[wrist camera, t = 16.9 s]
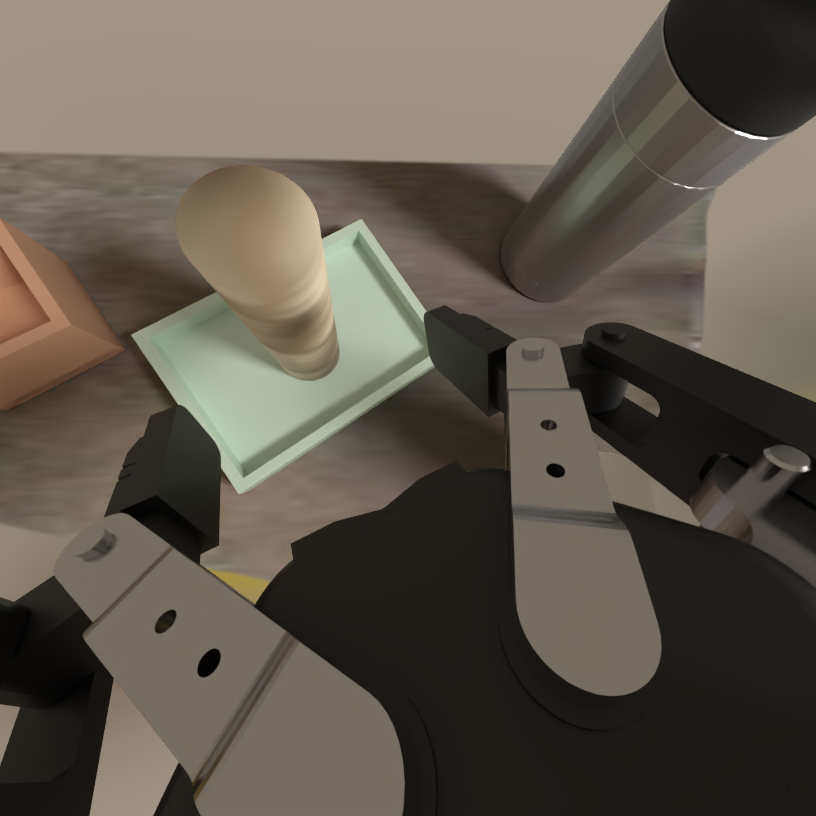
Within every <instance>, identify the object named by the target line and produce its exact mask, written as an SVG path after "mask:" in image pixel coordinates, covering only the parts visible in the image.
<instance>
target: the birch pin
mask: <svg viewBox="0 0 816 816" xmlns="http://www.w3.org/2000/svg"><path fill="white" fill-rule="evenodd" d="M175 225H176V234H177V238H178V241H179V244H180V246H181V248H182V250H183V252H184V254H185V255H186V257H187V258H188V259H189V261H190V262H191V263H192V264H193V265H194V267H195V268H196V269H197V270H198V271H199V272H200V273H201V275H202V276H203V277H204V278H205V279H206V280H207V282H208V283H209V284H210V285H211V286H212V287H213V288H214V290H215V291H216V292H217V293H218V294H219V295H220V297H221V298H222V299H223V300H224V301H225V302H226V303H227V305H228V306H229V307H230V308H231V309H232V310H233V311H234V313H235V314H236V315H237V316H238V317H239V318H240V320H241V321H242V322H243V323H244V324H245V325H246V326H247V328H248V329H249V330H250V331H251V332H252V333H253V334H254V336H255V337H256V338H257V339H258V340H259V341H260V343H261V344H262V345H263V346H264V347H265V348H266V349H267V351H268V352H269V353H270V354H271V355H272V356H273V358H274V359H275V360H276V361H277V362H278V363H279V364H280V366H281V367H282V368H283V369H284V370H285V371H286V372H287V373H288V374H289V375H291V376H292V377H294V378H296V379H299V380H303V381H315V380H319V379H321V378H324V377H325V376H327V375H328V374H330V373H331V372H332V371H333V369H334V368H335V367H336V365H337V363H338V360H339V354H340V351H339V344H338V337H337V331H336V325H335V319H334V313H333V306H332V300H331V294H330V288H329V282H328V275H327V269H326V263H325V257H324V250H323V244H322V238H321V232H320V226H319V220H318V216H317V213H316V210H315V208H314V205H313V204H312V202H311V200H310V199H309V197H308V196H307V195H306V193H305V192H304V191H303V190H302V189H301V188H300V187H299V186H298V185H297V184H295V183H294V182H293V181H292V180H290V179H289V178H287V177H285V176H284V175H282V174H279V173H277V172H275V171H272V170H269V169H266V168H262V167H258V166H250V165H238V166H229V167H225V168H221V169H218V170H215V171H212V172H210V173H208V174H206V175H204V176H203V177H201V178H200V179H198V180H197V181H196V182H195V183H194V184H192V185H191V186H190V188H189V189H188V190H187V191H186V192H185V194H184V196H183V197H182V199H181V201H180V203H179V206H178V209H177V213H176V221H175Z"/></svg>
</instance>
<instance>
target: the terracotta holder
mask: <svg viewBox="0 0 816 816" xmlns="http://www.w3.org/2000/svg"><path fill="white" fill-rule="evenodd" d="M125 350H126V349H125V347H124V346H123V345H122V343H121V342H120V340H119V339H118V337H117V336H116V334H115V333H114V331H113V330H112V328H111V327H110V325H109V324H108V322H107V321H106V319H105V318H104V316H103V315H102V314H101V312H100V311H99V309H98V308H97V306H96V305H95V303H94V302H93V300H92V299H91V297H90V296H89V294H88V293H87V291H86V290H85V288H84V287H83V285H82V284H81V283H80V281H79V280H78V278H77V277H76V275H75V274H74V272H73V271H72V269H71V268H70V266H69V265H68V263H67V262H66V261H65V260H63V259H62V258H60V257H59V256H57V255H56V254H54V253H53V252H51V251H50V250H48V249H47V248H45V247H44V246H42V245H41V244H39V243H38V242H36V241H35V240H33V239H32V238H30V237H29V236H27V235H26V234H24V233H23V232H21V231H20V230H18V229H17V228H15V227H14V226H12V225H11V224H9V223H8V222H6V221H5V220H3V219H2V218H0V409H1V410H10V409H12V408H14V407H16V406H18V405H20V404H22V403H24V402H26V401H28V400H30V399H32V398H34V397H35V396H37V395H39V394H41V393H43V392H45V391H47V390H49V389H51V388H53V387H55V386H57V385H59V384H61V383H63V382H65V381H67V380H69V379H71V378H73V377H75V376H77V375H78V374H80V373H82V372H84V371H86V370H88V369H90V368H92V367H94V366H96V365H98V364H100V363H102V362H104V361H106V360H108V359H110V358H112V357H114V356H116V355H118V354H120V353H121V352H123V351H125Z"/></svg>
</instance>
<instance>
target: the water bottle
mask: <svg viewBox="0 0 816 816" xmlns="http://www.w3.org/2000/svg"><path fill="white" fill-rule="evenodd" d="M598 454H599V458H600V461H601V465H602V468H603V472H604V475H605V479H606V482H607V486H608V489H609V493H610V496H611V500H612V501H614V502H618V503H621V504H625V505H628V506H631V507H635V508H638V509H642V510H645V511H648V512H652V513H655V514H658V515H662V516H665V517H669V518H672V519H675V520H679V521H682V522H686V523H689V524H692V525H696V526H699V525H700V523H699V522H698V520H697V519H696V518H695V516H694V515H693V513H692V511H691V508H690V506H688V505H687V504H686V503H684V502H683V501H682V500H681V499H679V498H678V497H677V496H675V495H674V494H673V493H672V492H670V491H669V490H668V489H666V488H665V487H664V486H663V485H661V484H660V483H659V482H657V481H656V480H655V479H654V478H652V477H651V476H650V475H648V474H647V473H646V472H645V471H643V470H642V469H641V468H639V467H638V466H637V465H636V464H634V463H633V462H632V461H630V460H629V459H628V458H627V457H625V456H621V455H617V454H614V453H609V452H598Z"/></svg>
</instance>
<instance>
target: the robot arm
mask: <svg viewBox="0 0 816 816" xmlns="http://www.w3.org/2000/svg"><path fill="white" fill-rule="evenodd" d="M814 116H816V0H670V1H669V3H668V4H667V5H666V6H665V8H664V9H663V11H662V12H661V14H660V15H659V16H658V18H657V19H656V21H655V22H654V24H653V25H652V26H651V28H650V29H649V31H648V32H647V34H646V35H645V36H644V38H643V39H642V41H641V42H640V44H639V45H638V46H637V48H636V49H635V51H634V52H633V54H632V55H631V57H630V58H629V59H628V61H627V62H626V64H625V65H624V67H623V68H622V69H621V71H620V72H619V74H618V75H617V77H616V78H615V80H614V81H613V83H612V84H611V85H610V87H609V88H608V90H607V91H606V93H605V94H604V95H603V97H602V99H601V100H600V101H599V103H598V104H597V105H596V107H595V108H594V110H593V111H592V113H591V114H590V115H589V117H588V118H587V120H586V121H585V123H584V124H583V125H582V127H581V128H580V130H579V131H578V133H577V134H576V135H575V137H574V138H573V140H572V141H571V143H570V144H569V145H568V147H567V148H566V150H565V151H564V153H563V154H562V155H561V157H560V158H559V160H558V161H557V163H556V164H555V165H554V167H553V168H552V170H551V171H550V172H549V174H548V175H547V177H546V178H545V180H544V181H543V182H542V184H541V185H540V187H539V188H538V190H537V191H536V192H535V194H534V195H533V197H532V198H531V200H530V201H529V202H528V204H527V205H526V207H525V208H524V209H523V211H522V212H521V214H520V215H519V217H518V218H517V219H516V221H515V222H514V224H513V225H512V227H511V228H510V229H509V231H508V232H507V234H506V236H505V237H504V239H503V242H502V245H501V262H502V266H503V269H504V272H505V274H506V276H507V277H508V279H509V281H510V282H511V283H512V284H513V285H514V287H515V288H516V289H517V290H519V291H520V292H521V293H522V294H524V295H526V296H527V297H529V298H531V299H534V300H537V301H541V302H555V301H559V300H562V299H564V298H566V297H567V296H569V295H570V294H572V293H573V292H574V291H576V290H577V289H579V288H580V287H581V286H583V285H584V284H585V283H587V282H588V281H590V280H591V279H592V278H594V277H595V276H597V275H598V274H600V273H601V272H602V271H604V270H605V269H606V268H608V267H609V266H611V265H612V264H613V263H615V262H616V261H617V260H619V259H620V258H622V257H623V256H624V255H626V254H627V253H628V252H630V251H631V250H632V249H634V248H635V247H637V246H638V245H639V244H641V243H642V242H643V241H645V240H646V239H648V238H649V237H650V236H652V235H653V234H654V233H656V232H657V231H658V230H660V229H661V228H663V227H664V226H665V225H667V224H668V223H669V222H671V221H672V220H674V219H675V218H676V217H678V216H679V215H680V214H682V213H683V212H685V211H686V210H687V209H689V208H690V207H691V206H693V205H694V204H695V203H697V202H698V201H700V200H701V199H702V198H704V197H705V196H706V195H708V194H709V193H711V192H712V191H713V190H715V189H716V188H717V187H719V186H720V185H722V184H723V183H724V182H725V181H727V180H728V179H729V178H731V177H732V176H733V175H735V174H736V173H737V172H739V171H740V170H742V169H743V168H744V167H746V166H747V165H748V164H750V163H751V162H753V161H754V160H755V159H756V158H758V157H759V156H761V155H762V154H764V153H765V152H766V151H768V150H769V149H770V148H772V147H773V146H774V145H776V144H777V143H779V142H780V141H781V140H782V139H784V138H785V137H787V136H788V135H789V134H791V133H792V132H793V131H794V130H796V129H798V128H799V127H800V126H802V125H803V124H804V123H806V122H807V121H809V120H810V119H811V118H812V117H814ZM424 325H425V332H426V338H427V345H428V351H429V356H430V359H431V361H432V363H433V365H434V366H435V367H436V368H437V369H438V370H439V371H440V372H441V373H442V374H443V375H444V376H445V377H446V378H447V379H448V380H449V381H450V382H452V383H453V384H454V385H455V386H456V387H457V388H458V389H459V390H460V391H461V392H462V393H463V394H464V395H465V396H467V397H468V398H469V399H470V400H471V401H472V402H473V403H474V404H475V405H476V406H477V407H478V408H479V409H480V410H482V411H483V412H484V413H485V414H486V415H487V416H488V417H489V416H491V415H493V414H496V413H498V412H500V411H502V412H503V413H504V465H505V466H504V470H502V469H491V468H486V469H473V470H467V471H464V470H463V468H462V467H461V466H460V465H459V463H458V462H457V461H454V462H452V463H450V464H448V465H446V466H444V467H442V468H440V469H438V470H436V471H434V472H432V473H430V474H428V475H426V476H424V477H422V478H420V479H419V480H418V481H416V482H415V483H414V484H413V485H412V486H410V487H409V488H408V489H407V490H405V491H404V492H403V493H402V494H401V495H399V496H398V497H397V498H396V499H395V500H393V501H392V502H391V503H390V504H389V505H387V506H386V507H385V508H383V509H381V510H378V511H374V512H370V513H366V514H362V515H358V516H354V517H350V518H346V519H343V520H339V521H335V522H333V523H331V524H329V525H327V526H325V527H323V528H321V529H319V530H317V531H315V532H313V533H311V534H309V535H307V536H305V537H303V538H301V539H299V540H297V541H295V542H293V543H291V548H292V554H293V560H292V561H291V562H289V563H288V564H287V565H286V566H285V567H284V568H283V569H282V570H281V571H280V572H279V573H278V574H277V575H276V576H275V578H274V579H273V580H272V581H271V582H270V583H269V585H268V586H267V587H266V589H265V590H264V592H263V593H262V594H261V596H260V597H259V599H258V601H257V602H256V604H254V603H253V602H251V601H250V600H249V599H247V598H246V597H244V596H243V595H242V594H240V593H239V592H238V591H236V590H235V589H233V588H232V587H231V586H229V585H228V584H227V583H225V582H224V581H222V580H221V579H220V578H218V577H217V576H216V575H214V574H213V573H211V572H210V571H209V570H207V569H206V568H204V567H203V566H202V565H200V554H202V553H204V552H206V551H208V550H210V549H212V548H214V547H217V546H219V518H220V481H221V454H220V451H219V448H218V446H217V444H216V443H215V441H214V440H213V439H212V438H211V436H210V435H209V434H208V433H207V432H206V431H205V429H204V428H203V427H202V426H201V425H200V423H199V422H198V421H197V420H196V419H195V418H194V416H193V415H192V414H191V413H190V412H189V411H188V410H187V409H186V408H185V407H184V406H182V405H177V406H175V407H172V408H169V409H167V410H164V411H161V412H159V413H156V414H153V415H151V416H150V418H149V421H148V425H147V428H146V431H145V434H144V437H141V438H139V440H138V441H137V442H136V443H135V445H134V446H133V447H132V448H131V449H130V451H129V452H128V453H127V456H126V458H125V461H124V464H123V469H122V470H121V472H120V475H119V478H118V479H119V481H118V482H117V483H116V486H115V489H114V491H113V494H112V497H111V500H110V502H109V505H108V508H107V511H106V513H105V516H104V518H102V519H100V520H98V521H97V522H95V523H93V524H92V525H90V526H89V527H87V528H86V529H85V530H83V531H82V532H81V533H79V534H78V535H77V536H76V537H75V538H74V539H73V540H72V541H71V542H70V543H69V544H68V545H67V547H66V548H65V549H64V550H63V551H62V553H61V554H60V556H59V558H58V560H57V561H56V564H55V567H54V576H52V577H51V578H50V579H48V580H46V581H45V582H43V583H42V584H40V585H39V586H37V587H36V588H34V589H33V590H31V591H30V592H29V593H27V594H25V595H24V596H23V597H21V598H19V599H18V600H16V601H15V602H12V601H10V600H7V599H4V598H1V597H0V704H3V705H9V706H17V707H20V710H19V713H18V716H17V719H16V721H15V724H14V727H13V730H12V733H11V736H10V739H9V742H8V745H7V748H6V751H5V753H4V757H3V759H2V762H1V765H0V816H89V814H90V809H91V803H92V797H93V792H94V786H95V780H96V775H97V769H98V764H99V757H100V752H101V747H102V741H103V735H104V730H105V724H106V718H107V712H108V707H109V701H110V696H111V690H112V684H113V679H115V680H116V682H117V683H118V684H119V685H120V687H121V688H122V689H123V690H124V692H125V693H126V694H127V696H128V697H129V698H130V700H131V701H132V702H133V703H134V705H135V706H136V707H137V708H138V710H139V711H140V712H141V714H142V715H143V716H144V718H145V719H146V720H147V721H148V723H149V724H150V725H151V727H152V728H153V729H154V731H155V732H156V733H157V734H158V736H159V737H160V738H161V740H162V741H163V742H164V743H165V745H166V746H167V747H168V749H169V750H170V751H171V752H172V754H173V755H174V756H175V758H176V759H177V760H178V761H179V763H178V765H177V767H176V769H175V771H174V773H173V775H172V778H171V780H170V782H169V784H168V786H167V788H166V790H165V792H164V795H163V796H162V798H161V801H160V803H159V805H158V807H157V809H156V811H155V813H154V815H153V816H816V402H813V401H811V400H808V399H806V398H804V397H801V396H799V395H796V394H793V393H792V392H789V391H787V390H784V389H782V388H780V387H777V386H775V385H772V384H770V383H767V382H765V381H763V380H760V379H758V378H755V377H753V376H751V375H748V374H746V373H744V372H741V371H739V370H737V369H734V368H732V367H729V366H727V365H724V364H722V363H720V362H717V361H715V360H712V359H710V358H708V357H705V356H703V355H701V354H698V353H696V352H693V351H691V350H689V349H686V348H684V347H681V346H679V345H677V344H674V343H672V342H669V341H667V340H665V339H662V338H660V337H657V336H655V335H653V334H650V333H648V332H645V331H643V330H641V329H638V328H636V327H633V326H631V325H627V324H623V323H612V322H609V323H600V324H596V325H593V326H591V327H589V328H588V329H587V330H586V331H585V334H584V339H583V344H578V345H573V346H568V347H562V348H559V347H558V345H557V344H555V343H554V342H552V341H550V340H547V339H542V338H524V339H520V340H516V339H514V338H512V337H511V336H509V335H507V334H506V333H504V332H502V331H500V330H499V329H497V328H493V326H492V325H490V324H488V323H485V321H483V320H481V319H479V318H478V317H476V316H472V315H467V314H459V313H457V312H456V311H454V310H452V309H451V308H449V307H447V306H445V305H444V306H441V307H439V308H436V309H433V310H431V311H428V312H425V314H424ZM628 383H631V384H633V385H635V386H636V387H638V388H640V389H642V390H643V391H645V392H647V393H649V394H650V395H652V396H653V397H654V398H655V399H656V400H657V402H658V404H659V406H660V413H659V416H658V417H656V416H655V415H653V414H651V413H650V412H648V411H647V410H645V409H643V408H642V407H640V406H638V405H637V404H635V403H634V402H632V401H630V400H629V399H627V398H625V397H624V394H625V391H626V388H627V385H628ZM592 431H593V432H594V433H596V434H597V435H598V436H600V437H601V438H602V439H603V440H605V441H606V442H607V443H609V444H610V445H611V446H612V447H614V448H615V449H616V450H618V451H619V452H620V453H621V454H623V455H624V456H625V457H627V458H628V459H629V460H630V461H632V462H633V463H634V464H636V465H637V466H638V467H639V468H641V469H642V470H643V471H645V472H646V473H647V474H648V475H650V476H651V477H652V478H654V479H655V480H656V481H657V482H659V483H660V484H661V485H663V486H664V487H665V488H666V489H668V490H669V491H670V492H672V493H673V494H674V495H675V496H677V497H678V498H679V499H681V500H682V501H683V502H684V503H686V504H687V505H688V506H690V508H691V511H692V513H693V515H694V516H695V518H696V519H697V520H698V522H699V523H700V525H699V526H696V525H692V524H689V523H686V522H682V521H679V520H675V519H672V518H669V517H665V516H662V515H658V514H655V513H652V512H648V511H645V510H642V509H638V508H635V507H631V506H628V505H625V504H621V503H618V502H614V501H612V500H611V496H610V493H609V489H608V486H607V482H606V479H605V475H604V472H603V468H602V465H601V461H600V458H599V454H598V451H597V447H596V444H595V440H594V437H593V433H592Z"/></svg>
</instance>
